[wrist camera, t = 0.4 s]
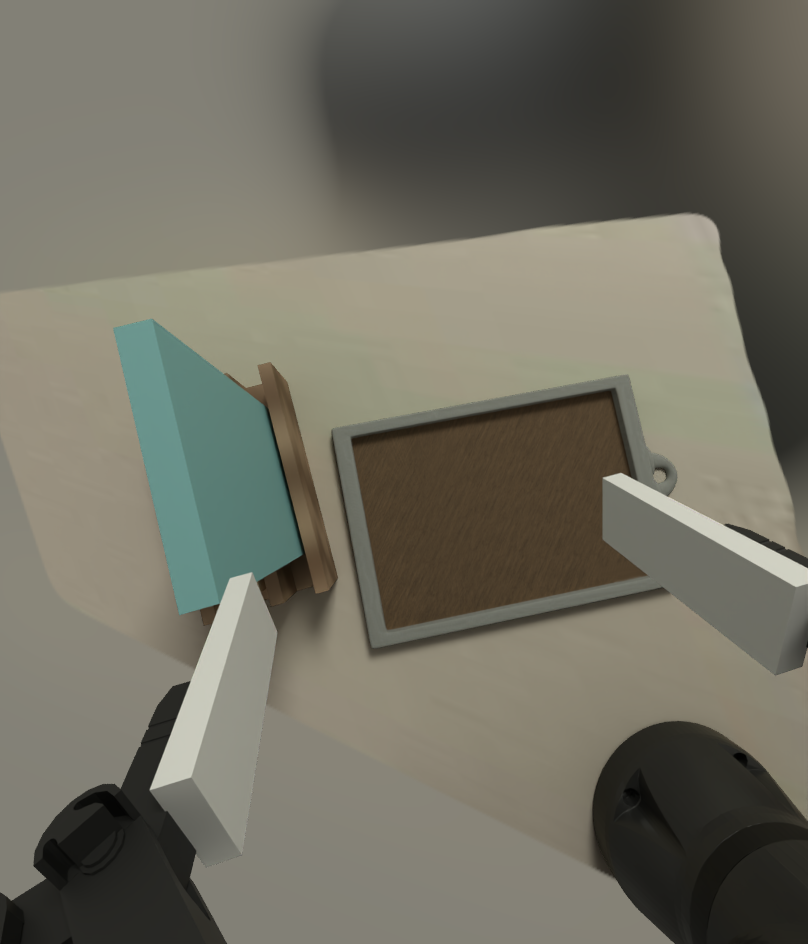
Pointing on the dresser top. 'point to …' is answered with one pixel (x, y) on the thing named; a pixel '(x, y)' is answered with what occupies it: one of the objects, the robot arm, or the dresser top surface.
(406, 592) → the framed cork board
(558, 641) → the dresser top surface
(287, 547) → the teal rectangular slab
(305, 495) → the rack
